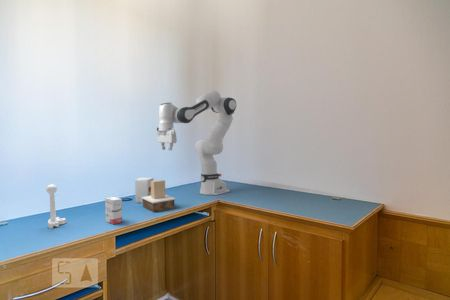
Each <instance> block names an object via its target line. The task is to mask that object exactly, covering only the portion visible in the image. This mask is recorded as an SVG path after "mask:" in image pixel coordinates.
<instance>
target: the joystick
mask: <svg viewBox="0 0 450 300" xmlns="http://www.w3.org/2000/svg"><path fill="white" fill-rule="evenodd" d="M45 189H46V192H47V193H48V195H49V207H50V208H49V213H50V218H49V219H48V220H47V227H48V228H49V229H51V230H52V229H54V227H56V228H57V227H59V226H61V225H65V224H66V223H67V219H66V218H65V217H63V218H62V217H61V218H60V216H57V214H56V211H57V210H56V199H55V193H56V192H57V190H58V187H57V185H56V184H49V185H47V186H46V188H45Z"/></svg>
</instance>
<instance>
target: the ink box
mask: <svg viewBox="0 0 450 300" xmlns="http://www.w3.org/2000/svg"><path fill="white" fill-rule="evenodd" d="M104 200H105V202H104V203H105V204H104V205H105V206H104V208H105V222H106V223H110V224H112V225H116V224H120V223H123V201H122V200H123V199H122V198H119V197H116V196H110V197H106V198H105V199H104Z"/></svg>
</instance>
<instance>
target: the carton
mask: <svg viewBox="0 0 450 300" xmlns="http://www.w3.org/2000/svg"><path fill="white" fill-rule="evenodd" d="M165 195H166V180H164V179H158V180H154V181H151V198H153V199H159V198H165Z"/></svg>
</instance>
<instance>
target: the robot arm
mask: <svg viewBox="0 0 450 300" xmlns="http://www.w3.org/2000/svg"><path fill="white" fill-rule="evenodd" d="M221 96H222V95H221V94H220V93H219V92H218V91H217V90H211V91H207V92H204V93H203V94H201V95H200V96H198V97H197V98H196V99H195V104H193V105H192V106H184V107H177V106H175V105H174V104H173V102H164V103H161V104H159V107H158V117H159V122H158V126H157V127H156V128H155V131H156V141H157V143H160V146H161V150H166V146H165V144H168V145H169V147H168V151H173V147H174V144H176V143H177V141H178V140H177V139H178V138H177V133H176V131H175V129H174V124H190V123H191V122H192V121H193V119H194V118H195V117H196V116H198V115H199V114H201V113H203V112H205V111H208V110H211V111H212V112H214V113H217V114H218V118H216V120H215V121H214V123H213V125H212V126H211V128H210V130H209V131H210V136H209V138H202V139H199V140H198V141H196V143H195V146H194V148H195V151H196V152H197V153H198V156H199V159H200V164H201V165H200V166H201V169H200V170H201V174H200V182H201V184H200V190H199V194H200V195H205V196H206V195H207V196H213V195H214V196H218V195H222V194H226V193H229V192H231V191H230V189H228V188H227V184H226V182H225V181H223V180H222V179H221V178H220V177H222V173H218V167H217V166H218V165H217V162H216V159H215V158H214V155H215V156H216V155H219V154H220V155H221V153H222V152H223V150H224V143H223V140H224V137H225V135H226V134H227V132H228V131H229V129H230V127H231V125H232V123H233V120H234V119H233V118H234V117H233V114H235V111H236V110H237V109H236V108H237V102H236V99H235V98H232V97H221Z"/></svg>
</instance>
